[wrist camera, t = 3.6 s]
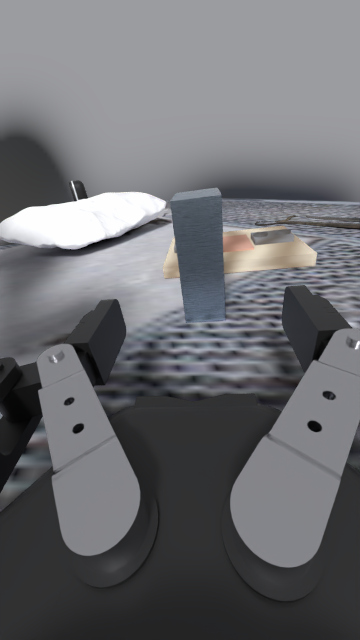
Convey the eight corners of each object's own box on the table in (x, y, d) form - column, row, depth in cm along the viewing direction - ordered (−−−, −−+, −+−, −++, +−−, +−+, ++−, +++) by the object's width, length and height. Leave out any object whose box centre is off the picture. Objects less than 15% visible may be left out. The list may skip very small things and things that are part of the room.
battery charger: (95, 223, 74) (82, 179, 68) (82, 225, 73) (68, 181, 67) (93, 220, 80) (81, 179, 74) (81, 222, 79) (68, 181, 73)
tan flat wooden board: (164, 278, 32) (161, 259, 30) (174, 246, 43) (172, 231, 42) (314, 265, 29) (318, 244, 28) (282, 235, 41) (283, 219, 40)
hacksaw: (423, 227, 37) (427, 217, 36) (392, 245, 33) (396, 233, 32) (282, 215, 55) (283, 208, 54) (250, 226, 50) (250, 218, 49)
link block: (185, 322, 22) (169, 201, 17) (188, 296, 27) (176, 192, 21) (225, 320, 22) (221, 194, 17) (221, 294, 26) (217, 187, 21)
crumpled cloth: (1, 245, 56) (-22, 201, 50) (140, 212, 70) (135, 175, 64) (13, 290, 41) (-17, 236, 35) (188, 237, 55) (187, 192, 49)
